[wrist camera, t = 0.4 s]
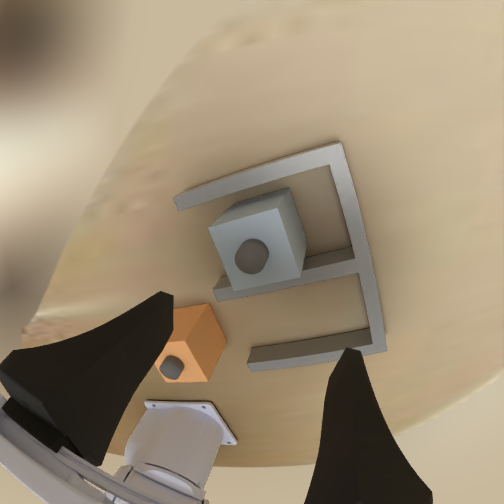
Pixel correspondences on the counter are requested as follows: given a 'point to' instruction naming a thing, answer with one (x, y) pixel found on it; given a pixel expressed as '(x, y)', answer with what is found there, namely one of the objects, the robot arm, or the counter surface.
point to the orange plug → (192, 345)
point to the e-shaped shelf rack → (306, 260)
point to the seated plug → (260, 240)
